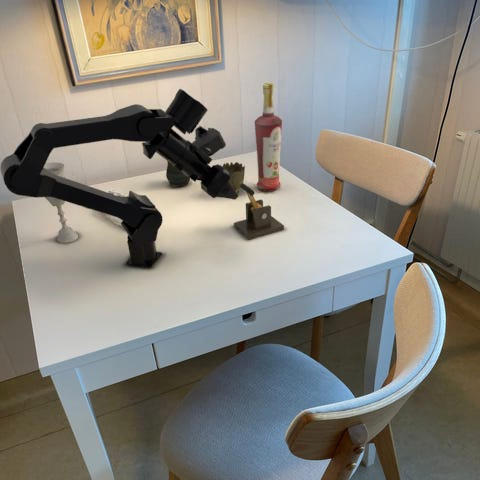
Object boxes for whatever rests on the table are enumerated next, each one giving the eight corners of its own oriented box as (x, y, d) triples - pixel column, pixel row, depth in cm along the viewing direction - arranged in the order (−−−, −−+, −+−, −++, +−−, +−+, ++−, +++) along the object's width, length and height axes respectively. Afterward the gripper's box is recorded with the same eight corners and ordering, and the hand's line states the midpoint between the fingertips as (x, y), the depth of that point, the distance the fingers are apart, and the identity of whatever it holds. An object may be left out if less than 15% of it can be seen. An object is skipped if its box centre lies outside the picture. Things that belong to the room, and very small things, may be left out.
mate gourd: (196, 182, 149) (193, 149, 143) (181, 191, 144) (177, 157, 138) (177, 178, 152) (173, 145, 146) (162, 186, 147) (157, 153, 141)
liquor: (267, 195, 139) (266, 88, 122) (250, 188, 143) (247, 84, 126) (286, 188, 142) (288, 83, 125) (269, 181, 147) (269, 79, 130)
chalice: (52, 246, 120) (30, 175, 109) (53, 234, 125) (32, 164, 114) (83, 241, 121) (64, 170, 110) (82, 229, 126) (64, 160, 115)
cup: (216, 191, 142) (214, 164, 137) (239, 186, 145) (237, 159, 140) (226, 201, 137) (224, 173, 132) (250, 195, 139) (249, 168, 134)
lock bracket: (248, 239, 119) (247, 215, 115) (233, 226, 124) (232, 203, 120) (284, 229, 122) (284, 206, 118) (268, 217, 128) (268, 194, 124)
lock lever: (247, 193, 113) (255, 187, 113) (237, 186, 117) (245, 180, 117) (261, 222, 119) (269, 217, 120) (251, 215, 123) (259, 209, 123)
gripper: (219, 130, 95) (269, 174, 105) (183, 108, 108) (230, 149, 118) (185, 177, 97) (237, 216, 107) (154, 151, 110) (203, 187, 121)
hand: (227, 190), depth 113 cm, fingers open, 9 cm apart
